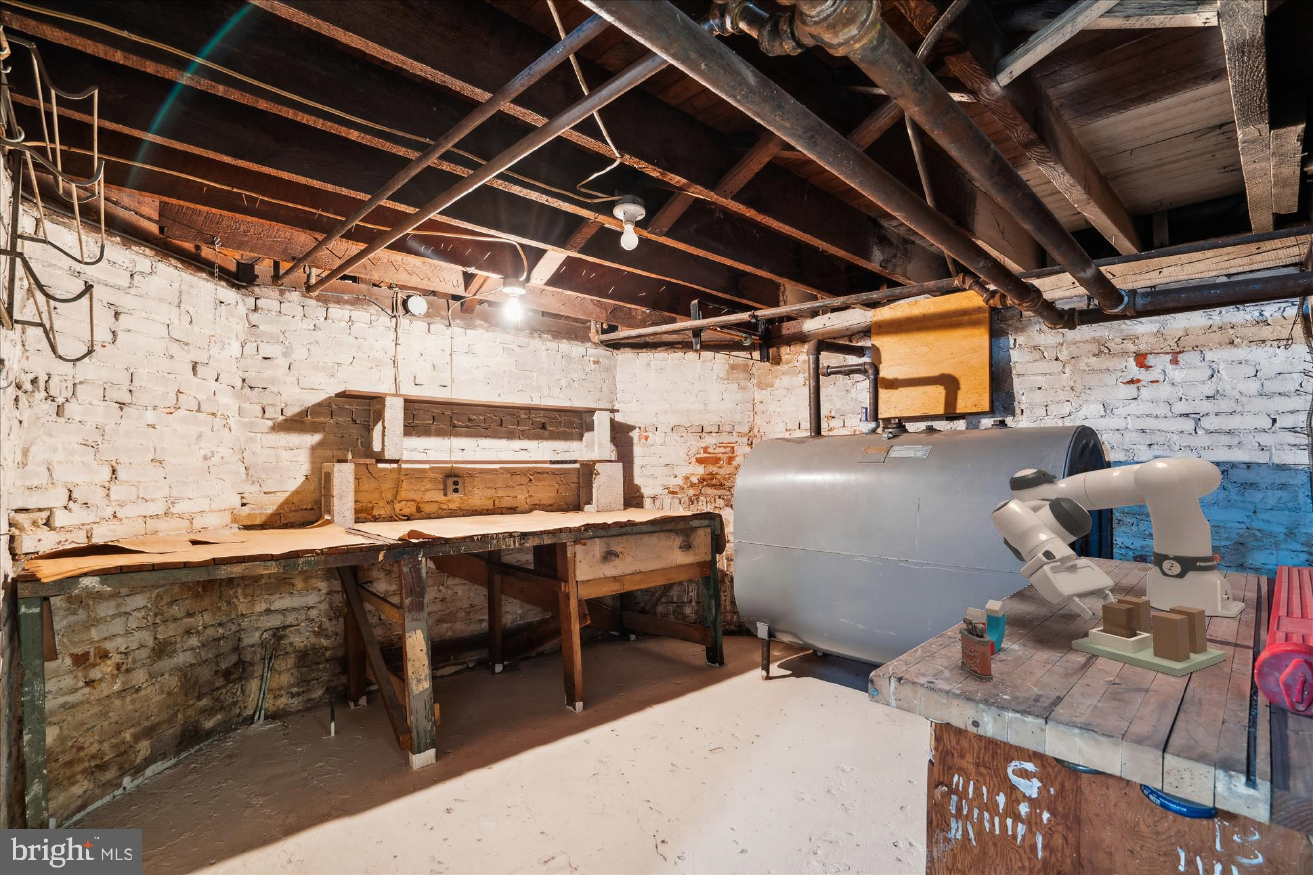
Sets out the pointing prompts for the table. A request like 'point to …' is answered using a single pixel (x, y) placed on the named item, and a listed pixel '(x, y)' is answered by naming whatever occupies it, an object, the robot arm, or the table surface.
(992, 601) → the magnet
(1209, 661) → the board
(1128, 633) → the leg
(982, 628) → the lighter
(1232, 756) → the table surface
